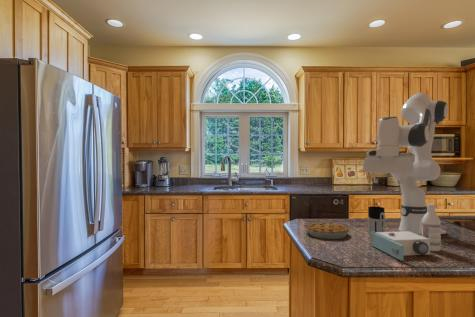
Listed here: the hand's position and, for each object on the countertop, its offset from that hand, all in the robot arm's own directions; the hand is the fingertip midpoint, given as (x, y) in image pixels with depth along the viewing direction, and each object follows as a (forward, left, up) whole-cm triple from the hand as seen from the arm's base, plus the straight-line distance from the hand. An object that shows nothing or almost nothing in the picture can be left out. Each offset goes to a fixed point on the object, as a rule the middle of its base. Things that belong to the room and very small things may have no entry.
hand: (387, 183), depth 133 cm
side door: (+5, +7, -29) cm, 30 cm away
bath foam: (-18, +4, -29) cm, 34 cm away
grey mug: (-5, -15, -29) cm, 33 cm away
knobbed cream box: (-4, +5, -29) cm, 30 cm away
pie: (+17, -26, -29) cm, 43 cm away
